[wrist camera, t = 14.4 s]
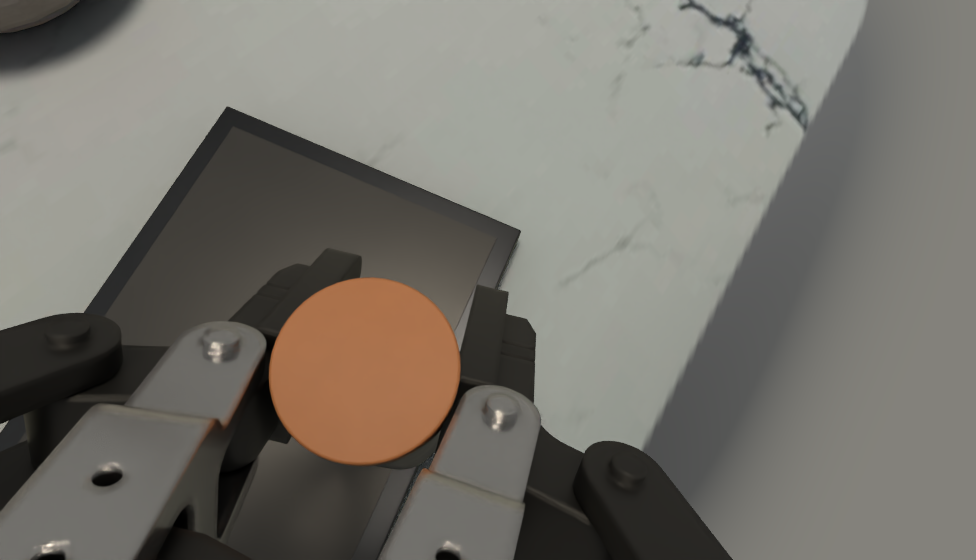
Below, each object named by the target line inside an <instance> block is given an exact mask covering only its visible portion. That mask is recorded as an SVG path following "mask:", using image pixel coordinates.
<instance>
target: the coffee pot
mask: <svg viewBox="0 0 976 560" xmlns="http://www.w3.org/2000/svg"><path fill="white" fill-rule="evenodd" d="M79 1H80V0H0V33H6V32H16V31H20V30H23V29H27V28H30V27H34V26H37V25H41V24H44V23H46V22H47V21H49V20H51V19H53V18H55V17H57V16H59V15H61V14H63V13H65V12H67V11H68V10H69V9H71V8H72V7H73V6H74V5H75V4H77V3H78V2H79Z"/></svg>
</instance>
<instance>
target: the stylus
mask: <svg viewBox="0 0 976 560" xmlns="http://www.w3.org/2000/svg"><path fill="white" fill-rule="evenodd" d="M460 372H461V363H460V353H459V347H458V343H457V340H456V337H455V334H454V332H453V330H452V327H451V325H450V323H449V322H448V320H447V319H446V317H445V316H444V314H443V313H442V312H441V310H440V309H439V308H438V307H437V306H436V305H435V304H434V303H433V302H432V301H431V300H430V299H429V298H428V297H426V296H425V295H423V294H422V293H421V292H419V291H418V290H416V289H414V288H412V287H410V286H408V285H405V284H403V283H400V282H397V281H393V280H389V279H384V278H373V277H371V278H356V279H349V280H346V281H342V282H338V283H336V284H333V285H331V286H328V287H326V288H324V289H322V290H320V291H319V292H317V293H315V294H314V295H312V296H311V297H310V298H308V299H307V300H305V301H304V302H303V303H302V304H301V305H300V306H299V307H298V308H297V309H296V310H295V311H294V312H293V313H292V315H291V316H290V317H289V318H288V320H287V321H286V323H285V324H284V326H283V327H282V329H281V331H280V333H279V335H278V337H277V339H276V341H275V344H274V347H273V350H272V354H271V359H270V364H269V388H270V394H271V398H272V402H273V405H274V408H275V410H276V413H277V415H278V417H279V419H280V421H281V422H282V424H283V426H284V427H285V428H286V430H287V431H288V432H289V434H290V435H291V436H292V437H293V438H294V439H295V440H296V441H297V442H298V443H299V444H300V445H302V446H303V447H304V448H306V449H307V450H308V451H310V452H312V453H314V454H315V455H317V456H319V457H321V458H324V459H326V460H329V461H332V462H335V463H340V464H345V465H352V466H378V467H384V468H389V469H396V470H404V469H410V468H413V467H416V466H418V465H420V464H422V463H423V462H425V461H426V460H427V459H428V458H429V457H430V456H431V455H432V454H433V453H434V451H435V450H436V447H437V443H438V439H439V435H440V431H441V427H442V425H443V423H444V422H445V420H446V419H447V417H448V415H449V413H450V411H451V409H452V406H453V403H454V401H455V398H456V395H457V391H458V386H459V382H460Z"/></svg>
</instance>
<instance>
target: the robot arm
mask: <svg viewBox="0 0 976 560" xmlns="http://www.w3.org/2000/svg"><path fill="white" fill-rule="evenodd" d="M361 267H362V258H361V256H360V255H356V254H352V253H348V252H344V251H339V250H335V249H331V248H326V249H325V250H324V251H323V252H322V253H321V255H320V256H319V257H318V258H317V259H316V260H315V261H314V262H313V263H312V265H311V266H308V265H304V264H300V263H296V264H294V265H291V266H289V267H286V268H284V269H281V270H279V271H277V272H276V273H275V274H274V275H273V276H272V277H271V278H270V279H269V280H268V281H267V283H266V285H263V286H262V287H261V288H260V289H259V290H258V291H257V294H254V295H253V296H252V297H251V298H250V299H249V300H248V301H247V302H246V303H245V304H244V305H243V306H242V307H241V308H240V309H239V310H238V311H237V312H236V313H235V314H234V315H233V316H232V317H231V318H230V319H229V320H228V321H215V322H208V323H203V324H199V325H196V326H193V327H191V328H189V329H187V330H186V331H184V332H183V333H181V334H180V335H179V336H178V337H177V339H176V340H175V341H174V343H173V344H172V345H171V346H136V345H122V335H121V329H120V327H119V326H118V324H116V323H115V322H114V321H112V320H111V319H109V318H106V317H104V316H100V315H95V314H89V313H67V314H59V315H53V316H49V317H45V318H41V319H38V320H35V321H31V322H28V323H24V324H21V325H18V326H14V327H11V328H7V329H4V330H1V331H0V424H1V423H4V422H6V421H9V420H11V419H14V418H16V417H19V416H21V415H23V416H24V422H25V428H26V434H27V440H26V441H23V442H21V443H19V444H17V445H14V446H12V447H10V448H7V449H5V450H3V451H1V452H0V560H253V559H251V558H249V557H247V556H246V555H244V554H242V553H240V552H238V551H236V550H234V549H232V548H231V547H229V546H227V543H228V540H229V538H230V535H231V533H232V530H233V528H234V526H235V523H236V521H237V518H238V516H239V513H240V511H241V509H242V506H243V504H244V501H245V499H246V497H247V494H248V492H249V489H250V487H251V484H252V482H253V480H254V477H255V475H256V472H257V469H258V462H259V454H260V452H261V451H262V449H263V448H264V446H265V445H266V443H267V441H268V440H271V441H275V442H280V443H284V444H288V442H289V441H290V439H291V437H292V436H291V435H290V434H289V432H288V431H287V430H286V428H285V427H284V426H283V424H282V422H281V421H280V419H279V417H278V415H277V413H276V410H275V408H274V405H273V402H272V398H271V394H270V388H269V364H270V359H271V354H272V350H273V347H274V344H275V341H276V339H277V337H278V335H279V333H280V331H281V329H282V327H283V326H284V324H285V323H286V321H287V320H288V318H289V317H290V316H291V315H292V313H293V312H294V311H295V310H296V309H297V308H298V307H299V306H300V305H301V304H302V303H303V302H304V301H305V300H307V299H308V298H310V297H311V296H312V295H314V294H315V293H317V292H319V291H320V290H322V289H324V288H326V287H328V286H331V285H333V284H336V283H338V282H342V281H346V280H349V279H356V278H360V275H361ZM507 301H508V292H506V291H502V290H498V289H494V288H490V287H486V286H482V285H478V284H477V285H476V289H475V293H474V297H473V301H472V306H471V310H470V314H469V318H468V322H467V326H466V330H465V334H464V338H463V342H462V346H461V350H460V363H461V372H460V382H459V386H458V391H457V395H456V398H455V401H454V403H453V406H452V409H451V411H450V413H449V415H448V417H447V419H446V420H445V422H444V423H443V425H442V427H441V431H440V435H439V439H438V443H437V447H436V452H435V456H434V459H433V461H432V463H431V465H430V467H429V469H426V468H423V469H422V470H421V472H420V473H419V475H418V477H417V479H416V481H415V483H414V485H413V487H412V489H411V492H410V494H409V496H408V498H407V500H406V502H405V504H404V506H403V508H402V510H401V512H400V514H399V517H398V519H397V521H396V523H395V525H394V527H393V529H392V531H391V533H390V535H389V537H388V540H387V542H386V544H385V546H384V548H383V550H382V552H381V554H380V556H379V558H378V560H733V559H732V558H731V557H730V556H729V555H728V553H727V552H726V550H725V549H724V548H723V547H722V545H721V544H720V543H719V542H718V540H717V539H716V538H715V536H714V535H713V534H712V533H711V531H710V530H709V529H708V527H707V526H706V525H705V524H704V522H703V521H702V520H701V519H700V517H699V516H698V515H697V513H696V512H695V511H694V510H693V508H692V507H691V506H690V504H689V503H688V502H687V501H686V499H685V498H684V497H683V495H682V494H681V493H680V491H679V490H678V489H677V488H676V486H675V485H674V484H673V482H672V481H671V480H670V479H669V477H668V476H667V475H666V473H665V472H664V471H663V470H662V468H661V467H660V466H659V465H658V464H657V463H656V462H655V461H654V460H653V459H652V458H651V457H649V456H648V455H647V454H645V453H644V452H642V451H640V450H639V449H637V448H635V447H632V446H630V445H627V444H624V443H620V442H615V441H602V442H597V443H595V444H592V445H591V446H589V447H588V448H587V450H586V451H585V453H582V452H580V451H578V450H576V449H574V448H572V447H570V446H568V445H566V444H564V443H562V442H560V441H559V440H557V439H556V438H554V437H553V436H552V435H550V434H549V433H548V432H547V431H546V430H545V429H544V428H543V427H542V426H541V417H540V413H539V411H538V409H537V408H536V406H535V405H534V377H535V346H536V333H535V331H534V330H533V328H532V327H531V325H530V323H529V322H528V320H527V319H524V318H520V317H516V316H512V315H508V314H506V309H507Z"/></svg>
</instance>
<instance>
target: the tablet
mask: <svg viewBox="0 0 976 560" xmlns="http://www.w3.org/2000/svg"><path fill="white" fill-rule="evenodd" d="M520 233H521V231H520V230H518V229H516V228H513V227H511V226H509V225H506V224H504V223H502V222H499V221H497V220H495V219H492V218H490V217H488V216H485V215H483V214H480V213H478V212H476V211H473V210H471V209H469V208H466V207H464V206H462V205H459V204H457V203H454V202H452V201H450V200H447V199H445V198H443V197H440V196H438V195H436V194H433V193H431V192H428V191H426V190H424V189H421V188H419V187H417V186H414V185H412V184H410V183H407V182H405V181H403V180H400V179H398V178H395V177H393V176H391V175H388V174H386V173H384V172H381V171H379V170H377V169H374V168H372V167H369V166H367V165H365V164H362V163H360V162H358V161H355V160H353V159H351V158H348V157H346V156H344V155H341V154H339V153H336V152H334V151H332V150H329V149H327V148H325V147H322V146H320V145H318V144H315V143H313V142H310V141H308V140H306V139H303V138H301V137H299V136H296V135H294V134H292V133H289V132H287V131H285V130H282V129H280V128H277V127H275V126H273V125H270V124H268V123H266V122H263V121H261V120H259V119H256V118H254V117H251V116H249V115H247V114H244V113H242V112H240V111H237V110H235V109H233V108H230V107H226V109H225V110H224V111H223V113H222V114H221V116H220V117H219V119H218V120H217V122H216V123H215V124H214V126H213V127H212V129H211V130H210V132H209V133H208V135H207V136H206V137H205V139H204V140H203V142H202V143H201V145H200V146H199V147H198V149H197V150H196V152H195V153H194V155H193V156H192V158H191V159H190V160H189V162H188V163H187V165H186V166H185V168H184V169H183V171H182V172H181V173H180V175H179V176H178V178H177V179H176V181H175V182H174V184H173V185H172V186H171V188H170V189H169V191H168V192H167V194H166V195H165V196H164V198H163V199H162V201H161V202H160V204H159V205H158V207H157V208H156V209H155V211H154V212H153V214H152V215H151V217H150V218H149V220H148V221H147V222H146V224H145V225H144V227H143V228H142V230H141V231H140V233H139V234H138V235H137V237H136V238H135V240H134V241H133V243H132V244H131V245H130V247H129V248H128V250H127V251H126V253H125V254H124V256H123V257H122V258H121V260H120V261H119V263H118V264H117V266H116V267H115V269H114V270H113V271H112V273H111V274H110V276H109V277H108V279H107V280H106V282H105V283H104V284H103V286H102V287H101V289H100V290H99V292H98V293H97V295H96V296H95V297H94V299H93V300H92V302H91V303H90V305H89V306H88V307H87V309H86V310H85V312H84V313H89V314H95V315H100V316H104V317H106V318H109V319H111V320H112V321H114V322H115V323H116V324H118V326H119V327H120V329H121V335H122V345H136V346H171V345H172V344H173V343H174V341H175V340H176V339H177V337H178V336H179V335H180V334H181V333H183V332H184V331H186V330H187V329H189V328H191V327H193V326H196V325H199V324H203V323H208V322H215V321H228V320H229V319H230V318H231V317H232V316H233V315H234V314H235V313H236V312H237V311H238V310H239V309H240V308H241V307H242V306H243V305H244V304H245V303H246V302H247V301H248V300H249V299H250V298H251V297H252V296H253V295H254V294H257V291H258V290H259V289H260V288H261V287H262V286H263V285H266V283H267V281H268V280H269V279H270V278H271V277H272V276H273V275H274V274H275V273H276V272H277V271H279V270H281V269H284V268H286V267H289V266H291V265H294V264H296V263H300V264H304V265H308V266H311V265H312V263H313V262H314V261H315V260H316V259H317V258H318V257H319V256H320V255H321V253H322V252H323V251H324V250H325V249H326V248H331V249H335V250H339V251H344V252H348V253H352V254H356V255H360V256H361V258H362V267H361V275H360V278H371V277H373V278H384V279H389V280H393V281H397V282H400V283H403V284H405V285H408V286H410V287H412V288H414V289H416V290H418V291H419V292H421V293H422V294H423V295H425V296H426V297H428V298H429V299H430V300H431V301H432V302H433V303H434V304H435V305H436V306H437V307H438V308H439V309H440V310H441V312H442V313H443V314H444V316H445V317H446V319H447V320H448V322H449V323H450V325H451V327H452V330H453V332H454V334H455V337H456V340H457V343H458V347H459V353H460V350H461V346H462V342H463V338H464V334H465V330H466V326H467V322H468V318H469V314H470V310H471V306H472V301H473V297H474V293H475V289H476V285H477V284H478V285H482V286H486V287H490V288H494V289H497V287H498V284H499V282H500V280H501V278H502V275H503V273H504V271H505V268H506V266H507V264H508V262H509V259H510V257H511V255H512V253H513V250H514V248H515V246H516V243H517V241H518V238H519V236H520ZM26 440H27V434H26V428H25V422H24V416H23V415H21V416H19V417H16V418H14V419H11V420H9V421H8V423H7V424H6V426H5V427H4V429H3V430H2V431H1V433H0V452H1V451H3V450H5V449H7V448H10V447H12V446H14V445H17V444H19V443H21V442H23V441H26ZM418 467H419V465H418V466H416V467H413V468H410V469H404V470H396V469H389V468H384V467H378V466H352V465H345V464H340V463H335V462H332V461H329V460H326V459H324V458H321V457H319V456H317V455H315V454H314V453H312V452H310V451H308V450H307V449H306V448H304V447H303V446H302V445H300V444H299V443H298V442H297V441H296V440H295V439H294V438H293V437H291V439H290V441H289V442H288V444H284V443H280V442H275V441H271V440H268V441H267V443H266V445H265V446H264V448H263V449H262V451H261V452H260V454H259V462H258V469H257V472H256V475H255V477H254V480H253V482H252V484H251V487H250V489H249V492H248V494H247V497H246V499H245V501H244V504H243V506H242V509H241V511H240V513H239V516H238V518H237V521H236V523H235V526H234V528H233V530H232V533H231V535H230V538H229V540H228V543H227V546H229V547H231V548H232V549H234V550H236V551H238V552H240V553H242V554H244V555H246V556H247V557H249V558H251V559H253V560H378V558H379V556H380V554H381V551H382V549H383V547H384V545H385V542H386V540H387V538H388V536H389V533H390V531H391V529H392V526H393V524H394V522H395V520H396V517H397V515H398V513H399V510H400V508H401V506H402V504H403V501H404V499H405V497H406V494H407V492H408V490H409V488H410V485H411V483H412V481H413V478H414V476H415V474H416V472H417V469H418Z"/></svg>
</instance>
